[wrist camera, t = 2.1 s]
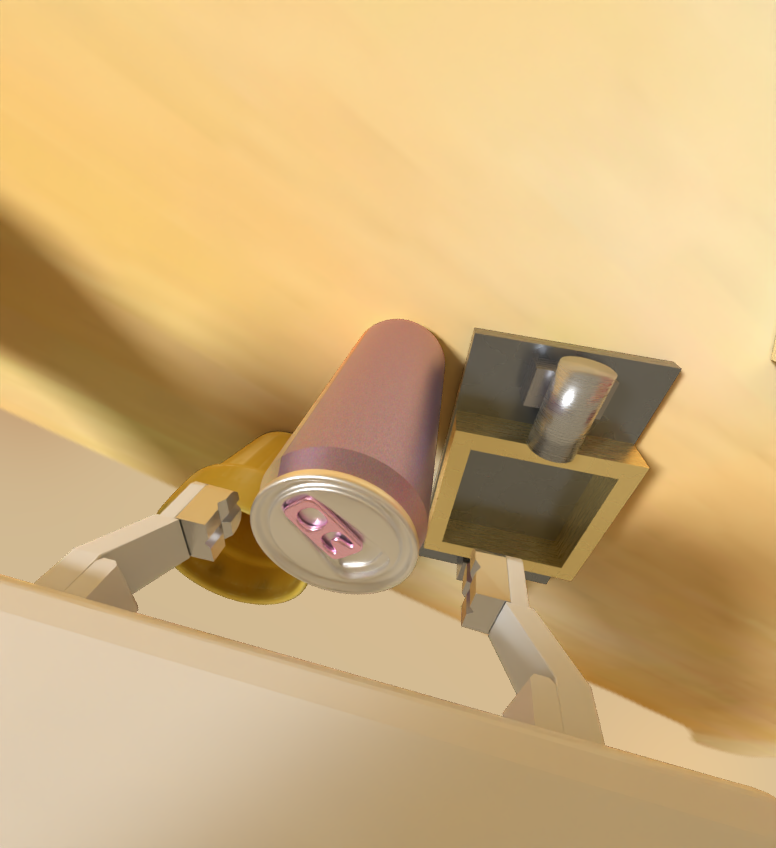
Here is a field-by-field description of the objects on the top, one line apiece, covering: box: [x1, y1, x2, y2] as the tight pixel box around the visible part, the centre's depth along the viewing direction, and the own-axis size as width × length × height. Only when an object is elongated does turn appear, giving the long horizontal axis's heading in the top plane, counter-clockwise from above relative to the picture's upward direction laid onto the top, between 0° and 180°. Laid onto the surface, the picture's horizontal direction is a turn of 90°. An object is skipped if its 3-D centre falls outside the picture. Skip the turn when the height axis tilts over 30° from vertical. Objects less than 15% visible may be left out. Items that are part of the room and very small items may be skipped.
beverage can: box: [250, 319, 445, 594], centre depth 18 cm, size 6×6×15 cm
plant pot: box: [157, 432, 307, 605], centre depth 27 cm, size 10×10×10 cm
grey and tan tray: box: [419, 328, 681, 584], centre depth 25 cm, size 12×21×5 cm, turn 173°
